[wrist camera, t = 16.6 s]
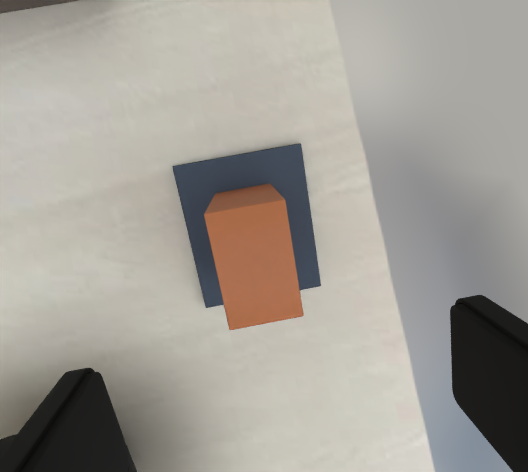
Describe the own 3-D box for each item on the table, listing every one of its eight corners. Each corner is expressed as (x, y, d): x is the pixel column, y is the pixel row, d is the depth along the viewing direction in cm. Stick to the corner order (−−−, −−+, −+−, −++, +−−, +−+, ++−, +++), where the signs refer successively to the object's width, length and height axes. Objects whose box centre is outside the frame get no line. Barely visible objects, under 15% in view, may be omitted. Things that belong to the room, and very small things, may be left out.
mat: (299, 143, 27) (300, 143, 26) (319, 283, 30) (321, 286, 29) (173, 166, 27) (172, 166, 26) (206, 305, 30) (205, 308, 29)
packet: (215, 193, 27) (203, 213, 18) (270, 183, 27) (285, 198, 18) (232, 275, 29) (229, 330, 20) (284, 266, 29) (303, 316, 20)
